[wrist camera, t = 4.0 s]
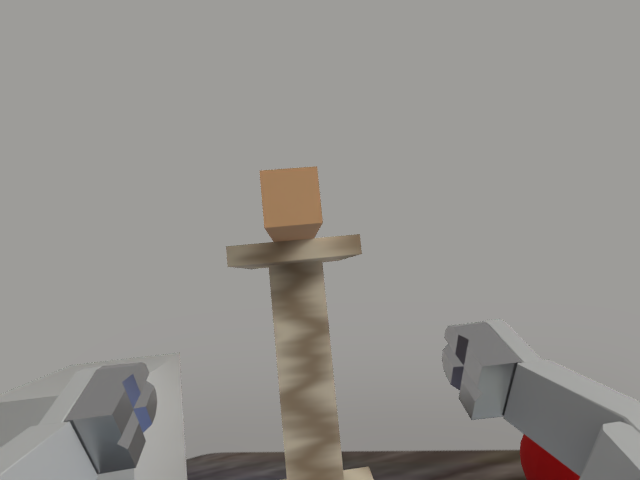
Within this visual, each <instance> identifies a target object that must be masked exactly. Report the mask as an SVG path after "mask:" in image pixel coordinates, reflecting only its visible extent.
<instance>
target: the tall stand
mask: <svg viewBox="0 0 640 480" xmlns="http://www.w3.org/2000/svg"><path fill="white" fill-rule="evenodd" d="M226 250H227V264H228V267H235V268H245V269H258V268H268V267H269V275H270V287H271V298H272V310H273V322H274V333H275V345H276V357H277V368H278V379H279V392H280V403H281V415H282V426H283V438H284V450H285V462H286V474H287V479H283V480H374V479H373V477H372V474H371V472H370V469H369V467H363V468H356V469H350V470H343V465H342V455H341V445H340V435H339V425H338V415H337V405H336V395H335V386H334V375H333V365H332V355H331V345H330V335H329V325H328V315H327V304H326V295H325V285H324V274H323V265H322V262H329V261H339V260H342V259H346V258H348V257H353V256H356V255H359V254H362V252H361V243H360V235H359V234H357V235H346V236H335V237H324V238H313V239H302V240H291V241H280V242H270V243H259V244H248V245H237V246H227V247H226Z"/></svg>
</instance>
